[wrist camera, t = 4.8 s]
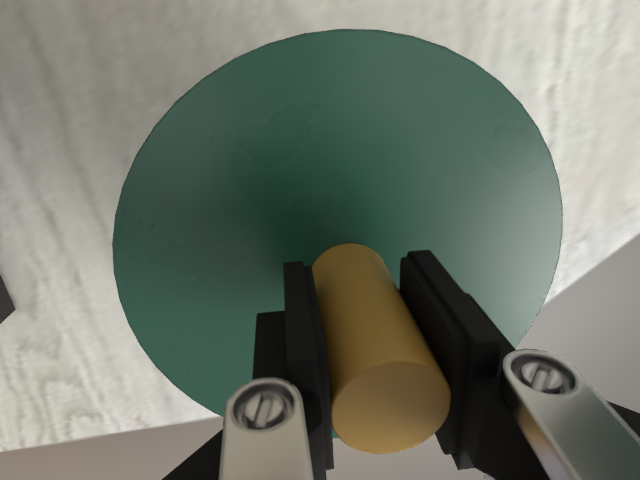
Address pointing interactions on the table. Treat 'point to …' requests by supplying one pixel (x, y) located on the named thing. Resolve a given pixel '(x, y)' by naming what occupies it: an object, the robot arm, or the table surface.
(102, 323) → the table surface
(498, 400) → the robot arm
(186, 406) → the table surface
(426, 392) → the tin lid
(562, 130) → the table surface
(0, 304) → the framed painting
